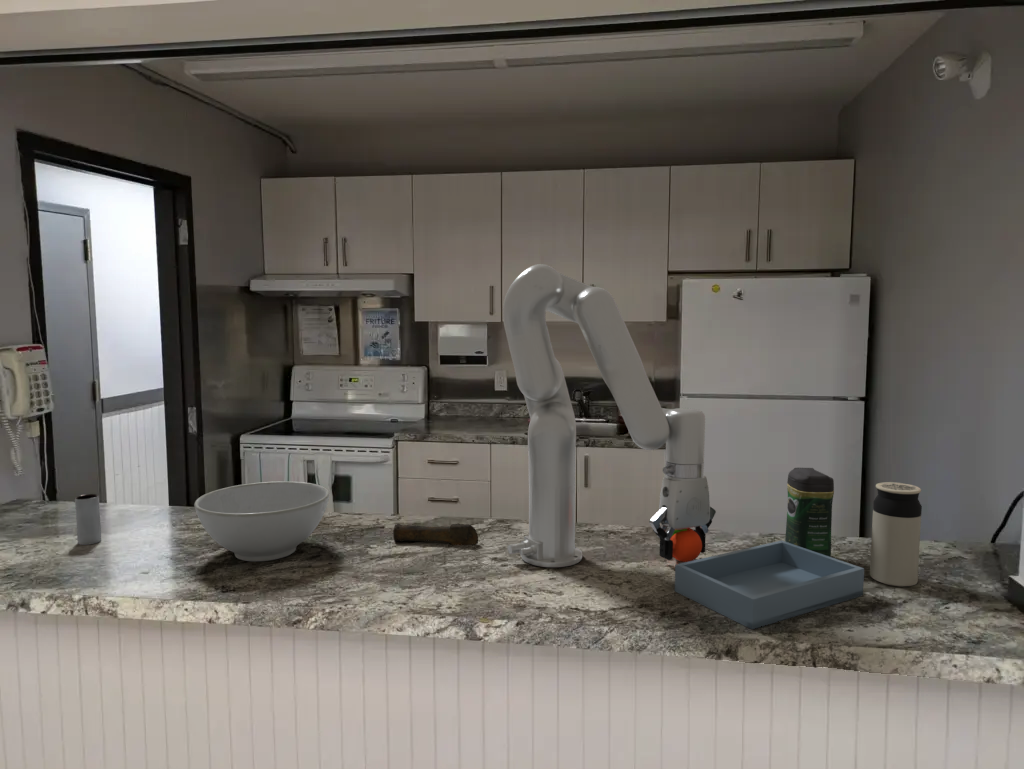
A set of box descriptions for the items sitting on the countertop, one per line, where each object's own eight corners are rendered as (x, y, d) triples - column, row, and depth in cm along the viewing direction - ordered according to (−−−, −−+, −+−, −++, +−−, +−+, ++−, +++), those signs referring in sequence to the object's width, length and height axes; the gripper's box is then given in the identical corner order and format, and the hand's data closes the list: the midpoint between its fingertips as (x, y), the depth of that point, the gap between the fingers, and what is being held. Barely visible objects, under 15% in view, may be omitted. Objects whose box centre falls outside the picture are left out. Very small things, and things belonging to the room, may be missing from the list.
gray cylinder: (105, 540, 157) (102, 495, 156) (84, 546, 154) (81, 500, 152) (94, 537, 160) (92, 492, 159) (73, 542, 156) (70, 497, 155)
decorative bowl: (326, 527, 167) (325, 477, 166) (335, 565, 142) (333, 506, 140) (203, 539, 158) (201, 486, 157) (189, 581, 133) (186, 519, 132)
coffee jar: (836, 566, 141) (841, 475, 139) (797, 566, 141) (800, 475, 139) (816, 550, 150) (820, 464, 149) (779, 550, 151) (782, 464, 149)
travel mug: (922, 589, 129) (927, 493, 127) (874, 585, 131) (878, 490, 129) (911, 574, 136) (916, 483, 135) (866, 570, 139) (870, 480, 137)
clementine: (678, 570, 139) (679, 535, 138) (655, 559, 145) (656, 525, 144) (708, 563, 143) (710, 529, 142) (685, 552, 149) (686, 520, 148)
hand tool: (391, 544, 156) (391, 523, 155) (398, 538, 160) (398, 518, 159) (474, 550, 152) (474, 529, 151) (479, 544, 156) (479, 523, 155)
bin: (752, 629, 113) (753, 599, 112) (674, 591, 128) (675, 564, 128) (862, 595, 126) (864, 568, 126) (780, 564, 142) (781, 540, 141)
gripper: (663, 478, 134) (661, 567, 136) (729, 469, 143) (727, 552, 144) (638, 471, 141) (636, 556, 143) (703, 462, 149) (700, 542, 151)
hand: (682, 554), depth 143 cm, fingers closed on clementine, 8 cm apart
